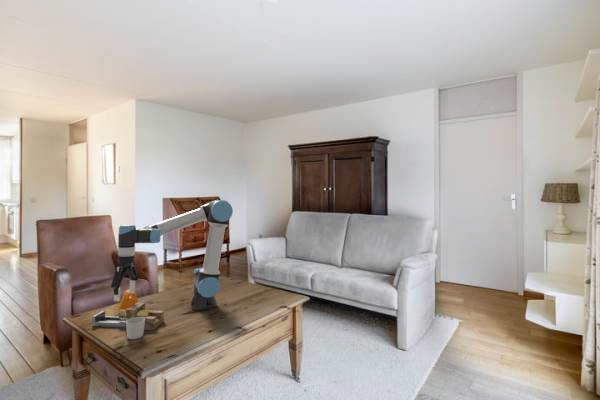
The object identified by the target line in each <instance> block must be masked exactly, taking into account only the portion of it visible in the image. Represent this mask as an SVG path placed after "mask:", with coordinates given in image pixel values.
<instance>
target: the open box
mask: <svg viewBox="0 0 600 400" xmlns="http://www.w3.org/2000/svg"><path fill="white" fill-rule="evenodd" d="M138 310H144V311H150V316H137V311H138ZM135 317H142V318H145V324H144V331H145V330H147V331H148V330H149V331H155V329H157V328H158V327H159V326H161V324H163V322H164V321H165V320H164V319H165V310H153V309H152V310H151V309H150V310H147V309H146V302H139V301H138V303H136V304H134V305H133V306H131V307H130V308H128V309H126V321H127V320H128V319H131V318H135Z"/></svg>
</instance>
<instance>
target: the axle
mask: <svg viewBox="0 0 600 400" xmlns="http://www.w3.org/2000/svg"><path fill="white" fill-rule="evenodd" d="M137 316H150V311H144V310H138V311H137ZM117 317H119V319H126V310H120V312H118V316H117Z"/></svg>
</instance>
